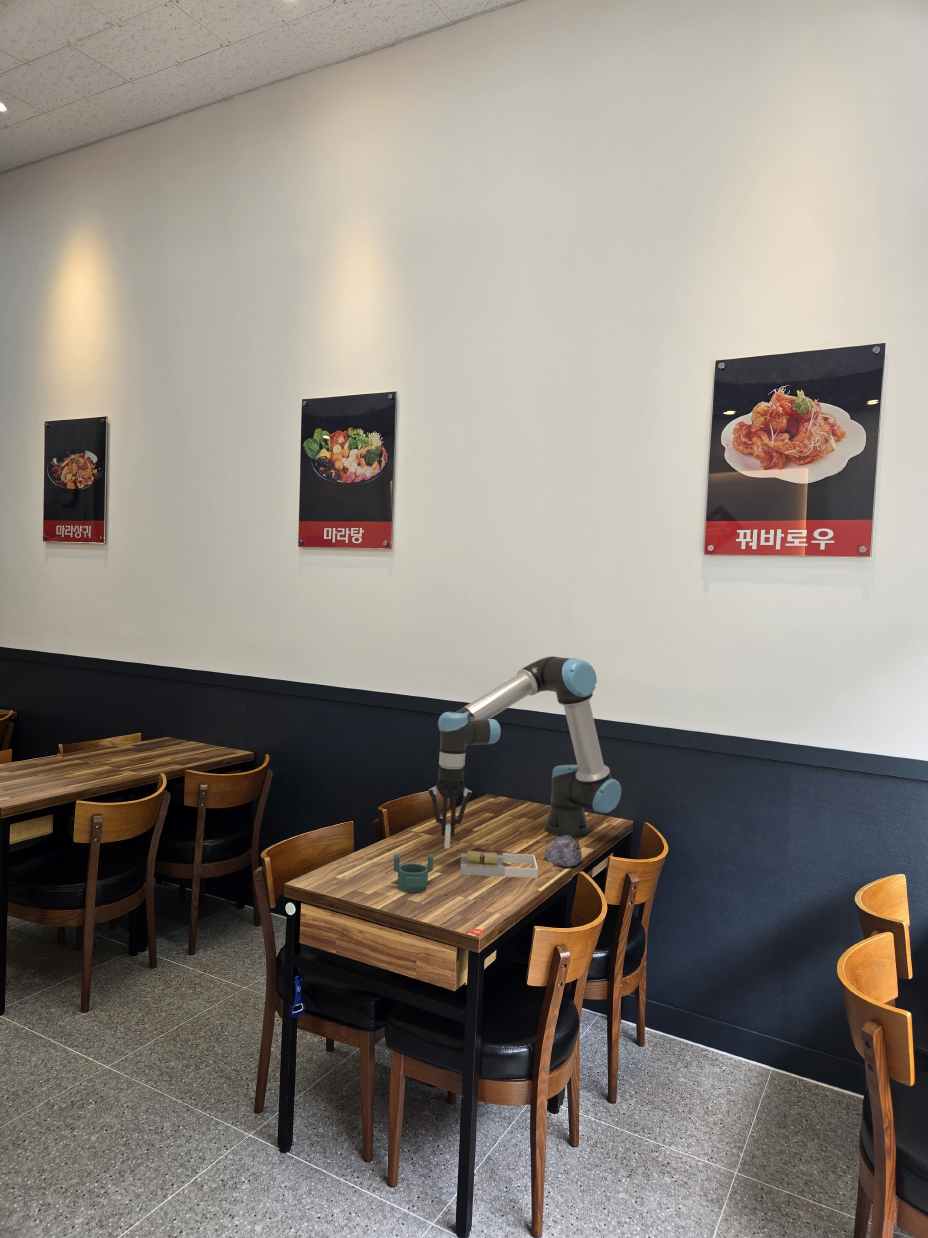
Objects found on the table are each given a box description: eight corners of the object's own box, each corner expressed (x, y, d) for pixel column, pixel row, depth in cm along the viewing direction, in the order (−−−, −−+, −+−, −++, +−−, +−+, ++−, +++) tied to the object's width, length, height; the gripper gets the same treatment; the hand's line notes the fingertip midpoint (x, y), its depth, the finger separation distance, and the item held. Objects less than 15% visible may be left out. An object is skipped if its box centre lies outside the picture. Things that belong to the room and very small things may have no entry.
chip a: (495, 866, 230) (495, 852, 230) (497, 870, 226) (498, 857, 226) (481, 866, 230) (482, 852, 229) (484, 870, 226) (484, 857, 226)
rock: (585, 852, 243) (576, 827, 239) (579, 876, 235) (570, 851, 231) (553, 853, 248) (544, 828, 244) (545, 877, 239) (536, 852, 235)
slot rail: (502, 865, 235) (502, 855, 235) (504, 880, 222) (504, 869, 222) (460, 863, 235) (461, 853, 235) (460, 877, 222) (460, 867, 222)
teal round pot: (389, 886, 212) (391, 854, 212) (414, 879, 219) (415, 847, 219) (412, 896, 206) (413, 863, 206) (436, 888, 213) (438, 855, 212)
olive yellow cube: (481, 865, 230) (482, 852, 230) (479, 870, 226) (479, 856, 226) (468, 864, 231) (468, 850, 231) (465, 868, 227) (466, 854, 227)
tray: (533, 866, 235) (534, 855, 235) (537, 881, 222) (538, 869, 222) (502, 865, 235) (502, 853, 235) (504, 880, 222) (504, 867, 222)
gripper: (473, 765, 232) (469, 844, 232) (430, 762, 232) (425, 842, 232) (474, 770, 224) (469, 852, 224) (428, 767, 224) (424, 849, 224)
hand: (447, 847), depth 228 cm, fingers closed
